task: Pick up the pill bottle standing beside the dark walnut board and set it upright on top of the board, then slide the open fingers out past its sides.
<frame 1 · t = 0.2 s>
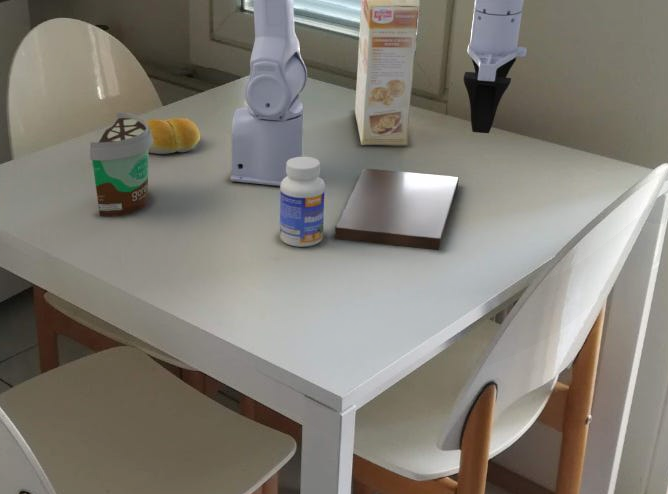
hand: (483, 121, 141), 10 cm above the table, tool pointing down, fingers open, 7 cm apart
coffeecake box: (380, 129, 168), on the table
food container: (132, 204, 146), on the table
walnut board: (398, 212, 143), on the table
bread roll: (168, 147, 162), on the table
pill bottle: (301, 240, 137), on the table
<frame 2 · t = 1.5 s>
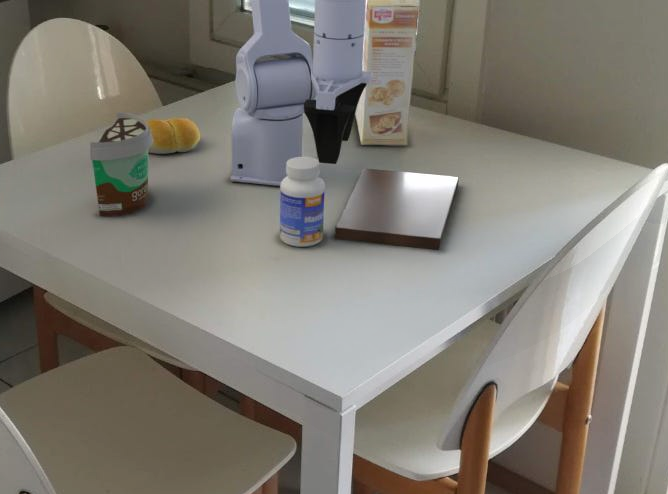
hand: (334, 150, 132), 10 cm above the table, tool pointing down, fingers open, 7 cm apart
nothing on the table moved.
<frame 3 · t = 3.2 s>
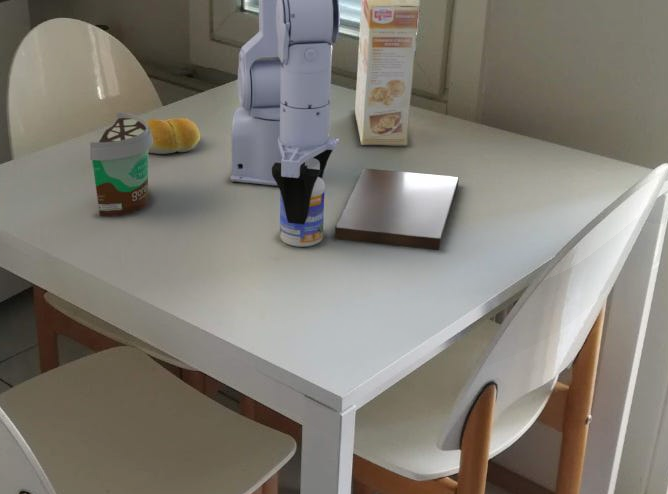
hand: (302, 212, 135), 3 cm above the table, tool pointing down, fingers closed on pill bottle, 5 cm apart
pill bottle: (301, 240, 137), on the table, touching gripper
everything else where it was.
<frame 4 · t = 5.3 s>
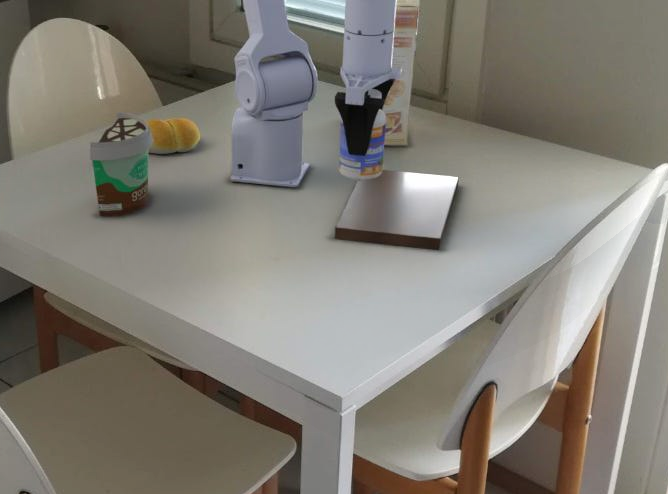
hand: (362, 145, 134), 10 cm above the table, tool pointing down, fingers closed on pill bottle, 5 cm apart
pill bottle: (360, 174, 136), point 6 cm above the table, touching gripper
everything else where it was.
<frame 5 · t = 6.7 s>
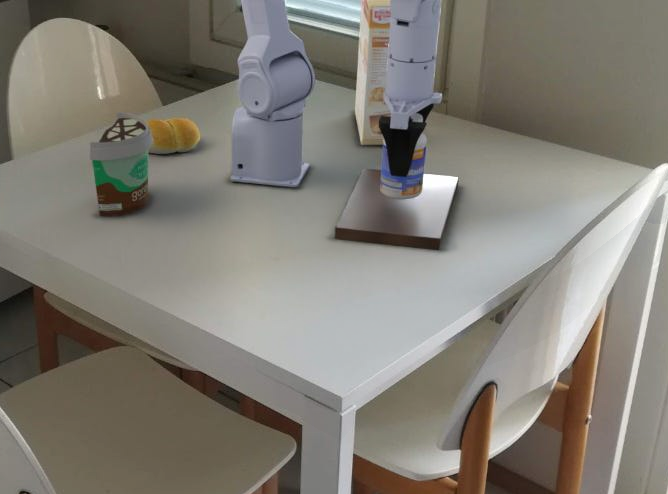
hand: (402, 166, 139), 6 cm above the table, tool pointing down, fingers closed on pill bottle, 5 cm apart
pill bottle: (400, 193, 142), point 2 cm above the table, touching gripper
everything else where it was.
when the fingers open (5 cm above the table, at t = 7.7 s): pill bottle stays where it is, resting on walnut board.
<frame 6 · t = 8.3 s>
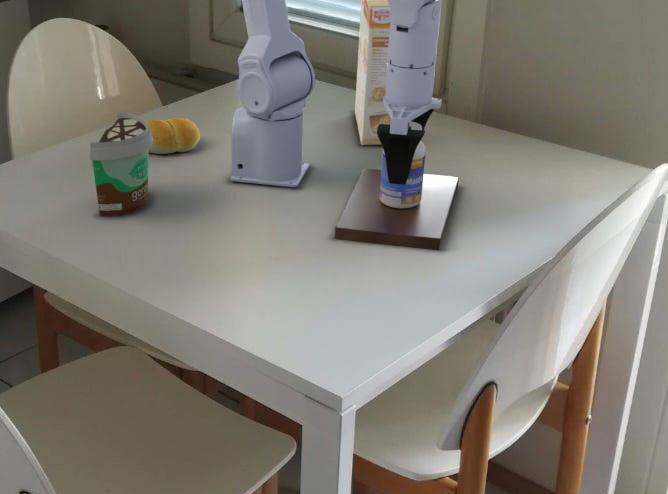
hand: (402, 171, 140), 5 cm above the table, tool pointing down, fingers open, 7 cm apart
pill bottle: (399, 202, 142), point 1 cm above the table, touching walnut board
everything else where it was.
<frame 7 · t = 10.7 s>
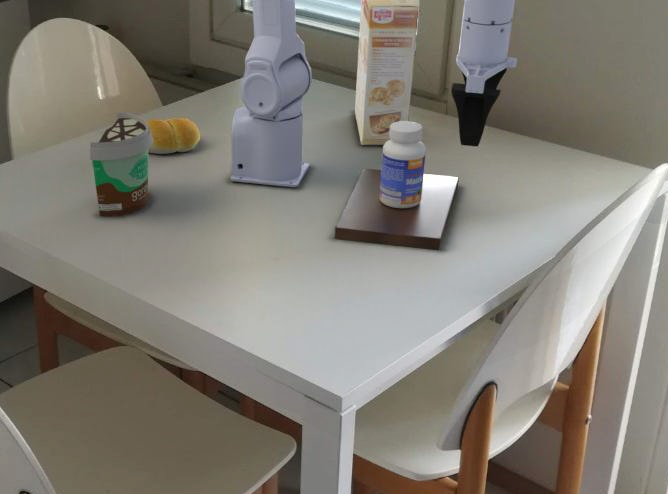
hand: (473, 134, 137), 10 cm above the table, tool pointing down, fingers open, 7 cm apart
nothing on the table moved.
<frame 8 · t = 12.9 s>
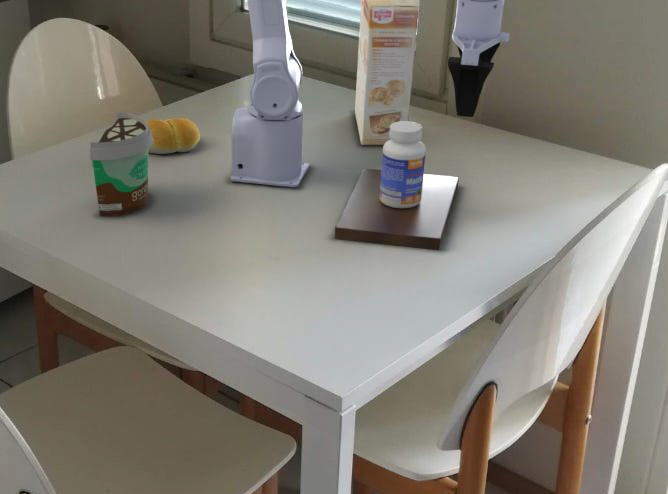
hand: (468, 105, 145), 10 cm above the table, tool pointing down, fingers open, 7 cm apart
nothing on the table moved.
at the end: pill bottle inside the target area on the walnut board (0.0 cm from its centre), point 1.3 cm above the walnut board's base; pill bottle tilted 0°; pill bottle touching walnut board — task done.
